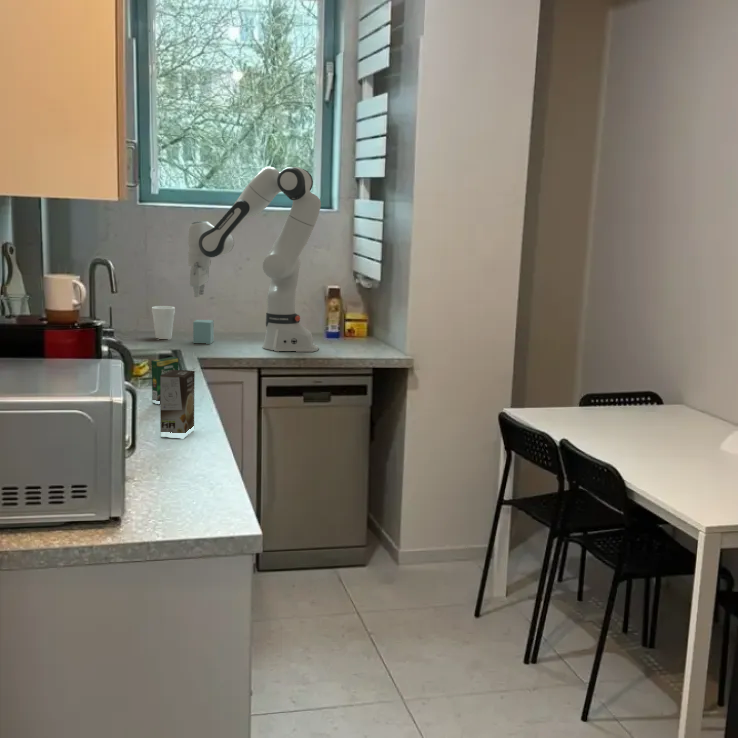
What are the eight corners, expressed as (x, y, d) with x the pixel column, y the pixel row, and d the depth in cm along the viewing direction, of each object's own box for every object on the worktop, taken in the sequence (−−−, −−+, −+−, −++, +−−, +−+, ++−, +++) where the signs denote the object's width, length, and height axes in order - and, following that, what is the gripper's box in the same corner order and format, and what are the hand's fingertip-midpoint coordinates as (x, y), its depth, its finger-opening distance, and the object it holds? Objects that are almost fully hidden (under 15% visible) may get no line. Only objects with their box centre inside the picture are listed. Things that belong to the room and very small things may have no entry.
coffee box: (184, 439, 225) (184, 377, 222) (159, 438, 226) (159, 375, 223) (195, 430, 234) (195, 370, 231) (171, 429, 235) (170, 368, 232)
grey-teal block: (213, 341, 372) (213, 320, 370) (210, 344, 365) (210, 322, 363) (196, 340, 372) (196, 319, 370) (193, 343, 365) (193, 322, 363)
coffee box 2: (157, 405, 259) (156, 360, 257) (151, 403, 261) (150, 359, 259) (179, 401, 265) (179, 357, 263) (173, 399, 267) (173, 356, 265)
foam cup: (151, 336, 377) (151, 306, 375) (173, 336, 380) (173, 306, 378) (153, 340, 368) (152, 309, 366) (176, 340, 371) (175, 308, 369)
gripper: (202, 263, 352) (202, 299, 354) (211, 260, 372) (211, 293, 375) (186, 263, 352) (186, 298, 354) (196, 259, 372) (196, 292, 375)
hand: (199, 295), depth 365 cm, fingers open, 8 cm apart
